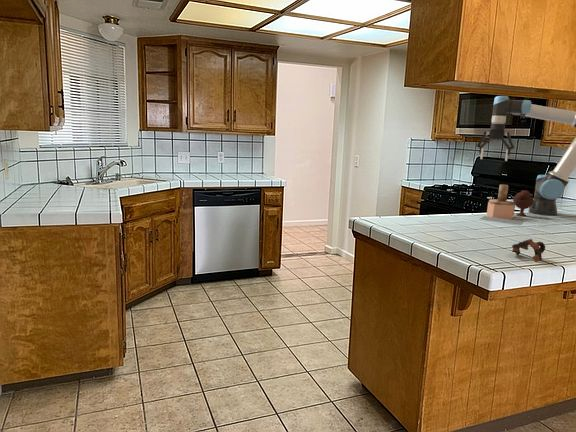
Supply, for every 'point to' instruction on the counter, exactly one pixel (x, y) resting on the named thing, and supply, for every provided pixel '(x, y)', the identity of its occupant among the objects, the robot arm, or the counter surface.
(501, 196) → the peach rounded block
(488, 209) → the pink squat block
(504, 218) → the mat
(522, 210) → the ice cream bowl
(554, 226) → the counter surface
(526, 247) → the brown curved piece
